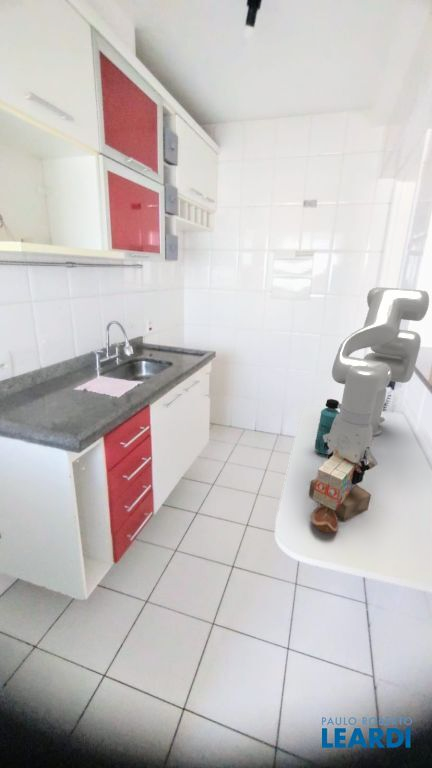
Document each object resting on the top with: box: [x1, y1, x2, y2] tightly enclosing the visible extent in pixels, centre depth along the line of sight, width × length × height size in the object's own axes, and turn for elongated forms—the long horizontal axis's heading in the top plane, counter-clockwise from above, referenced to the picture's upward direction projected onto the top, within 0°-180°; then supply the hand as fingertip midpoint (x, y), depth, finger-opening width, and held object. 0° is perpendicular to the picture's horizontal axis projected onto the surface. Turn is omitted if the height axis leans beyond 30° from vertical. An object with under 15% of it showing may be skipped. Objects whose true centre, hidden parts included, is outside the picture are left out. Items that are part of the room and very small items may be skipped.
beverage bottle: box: [314, 398, 340, 455], centre depth 116 cm, size 6×7×20 cm
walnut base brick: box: [308, 477, 372, 523], centre depth 94 cm, size 10×12×5 cm
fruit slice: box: [310, 504, 340, 534], centre depth 85 cm, size 8×7×5 cm
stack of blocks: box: [312, 436, 374, 510], centre depth 90 cm, size 21×6×12 cm, turn 140°
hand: (343, 474), depth 92 cm, fingers closed on stack of blocks, 7 cm apart
